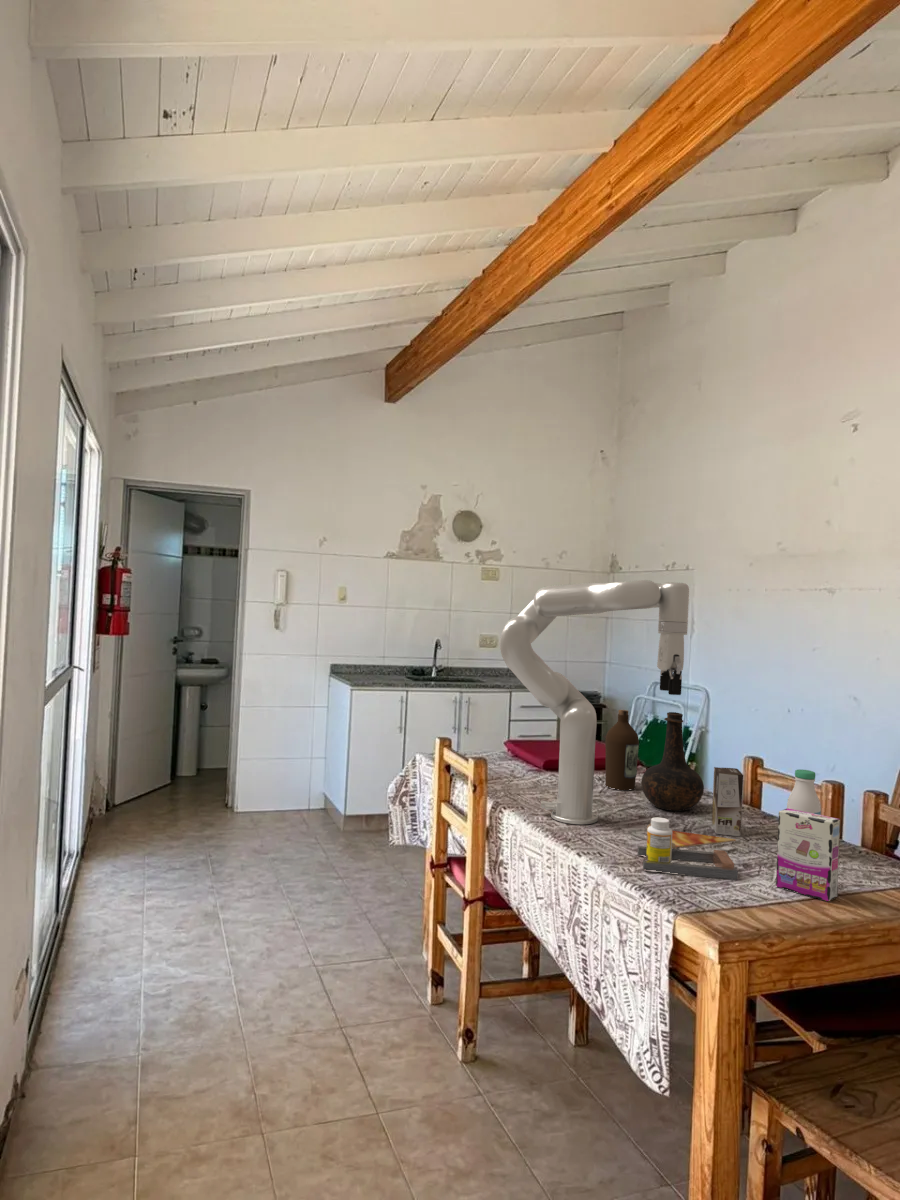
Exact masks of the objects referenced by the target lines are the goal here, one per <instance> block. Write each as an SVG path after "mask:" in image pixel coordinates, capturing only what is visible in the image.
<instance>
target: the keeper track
mask: <svg viewBox="0 0 900 1200" xmlns="http://www.w3.org/2000/svg"><path fill="white" fill-rule="evenodd" d="M646 853H647V846H643V845H638V846H637V856H638V855H645V856H646ZM675 859H680V860H679V861H686V860H687V862H688V861H689V862H699V863H701V862H702V863H709V864H710V863H713V866H712V865H699V864H690V863H677V862H671V863H668V862H656V861H646V859H645V860H642V870H643V869H646V870H656V871H662V872H670V873H678V874H685V875H684V876H688V875H694V876H693V877H700V876H703V878H712V879H713V878H714V879H724V880H734V879H736V880H738V877H739V876H738V875H739V874H738V873H739V870H738V869H737V868H736V867H735V863H734V861H733V860H732V858H731V857H730V856H729V854H728V853H727V851H726V850H720V849H718V850H717V849H714V850H713V851H705V850H704V851H703V850H690V849H680V848H673V849H672V856H671V860H675Z"/></svg>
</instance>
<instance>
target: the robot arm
mask: <svg viewBox="0 0 900 1200" xmlns="http://www.w3.org/2000/svg"><path fill="white" fill-rule="evenodd" d="M689 597H690V587H689V585H688V584H686V583H683V582H675V581H674V582H669V581H668V582H663V583H658V582H654V581H652V580H648V579H640V580H629V581H615V582H584V583H574V584H573V583H572V584H571V583H570V584H560V585H559V584H558V585H557V584H556V585H547V586H543V587H540V588H538V590H537V591H536V592H535V594H534V597H533V599H532V600H531V601H530V602H529V603H528V604H527V606H525V607H524V608H523V610H522V611H520V613H519V614H518V615H517V616H514V617H512V618H510V619H509V620H508V621H507V622H506V623H505V625H504V627H503V628H502V631H501V634H500V640H499V648H500V649H499V650H500V653H501V657H502V659H503V661H504V663H505V665H506V666H507V667H508V669H509V670H510V671H511V672H512V673H513V674H514V676H515V677H516V678H517V679H518V680H519V681H520V682H521V684H522V685H523V686H524V687H525V688H526V689H527V690H528V692H530V694H532V695H533V696H534V698H535V699H536V700H537V702H538V703H539V704H540V705H542V706H543V707H545V708H548V709H549V710H551V711H552V712H553V714H554V715H556V716H557V718H558V719H559V720H560V722H559V755H558V757H559V758H558V779H557V784H558V785H557V797H556V798H555V800H552V801H548V800H540V808H542V809H544V810H547V811H548V810H552V811H551V813H550V816H551V818H552V819H553V820H555V821H558V822H560V823H564V824H571V825H591V824H595V823H597V822H598V820H599V819H598V818H599V817H598V816H599V815H597V814H596V813H595V812H593V806H594V805H593V803H594V783H595V782H594V781H595V780H594V779H595V757H596V755H595V753H596V752H595V751H596V738H597V736H596V735H597V726H598V725H597V724H598V723H597V713H596V709H595V707H594V706H593V704H592V703H591V702H590V701H589V700H588V699H587V698H586V697H585V696H584V695H583V693H581V692H580V690H579V689H577V688H576V687H575V685H574V684H573V683H572V682H571V681H570V680H569V679H568V678H567V677H566V676H564V674H562V673H560V672H557V671H554V670H553V669H552V668H551V667H550V666H549V665H548V664H547V663H545V660H543V659H542V658H541V657H540V656H539V654H537V652H536V651H535V650H534V649H533V647H532V643H534V641H535V640H536V639H537V638H538V637H539V636H540V635H541V634H542V633H543V632H544V631H545V630H546V629H547V628H548V626H550V624H552V622H554V621H555V619H557V617H565V616H566V617H567V616H578V615H593V614H596V615H597V614H601V613H607V612H614V611H615V612H616V611H626V610H627V611H629V610H631V611H632V610H644V609H646V610H647V609H652V608H653V609H655V608H659V609H658V628H657V634H660V635H659V641H658V651H657V662H656V664H657V665H656V666H657V669H659V670H660V675H659V690H660V691H666V692H668V695H672V696H681V694H682V687H683V686H682V684H683V681H682V679H683V676H682V672H683V670H684V662H685V636H687V635H688V626H689V624H688V621H689V619H688V618H689V600H690V599H689Z"/></svg>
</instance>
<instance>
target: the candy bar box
mask: <svg viewBox="0 0 900 1200" xmlns="http://www.w3.org/2000/svg"><path fill="white" fill-rule="evenodd" d="M777 824H778V825H777V832H778V833H777V852H776V875H775V877H776V878H775V887H776V886H777V887H776V888H778V887H780V888H779V889H781V888H784V889H783V890H785V889H788V890H791V891H790V892H792V891H795V892H798V893H797V894H799V893H801V894H800V895H802V894H804V895H803V896H806V895H807V897H809V896H810V897H809V898H813V897H814V898H813V899H816V898H818V899H817V900H820V899H822V900H821V901H823V900H826V901H825V902H827V901H830V900H832V899H833V900H835V899H836V898H835V897H838V893H839V891H838V890H839V862H840V861H839V860H840V857H839V856H840V839H841V838H840V837H841V836H840V835H841V834H840V833H841V831H840V830H841V819H840V818H836V817H831V816H827V815H823V814H821V815H818V814H813V813H808V812H804V811H799V810H794V809H789V808H787V807H786V808H784V809H782V810H779V811H778V822H777ZM788 890H787V891H788ZM795 892H794V893H795ZM834 898H835V899H834ZM833 900H832V901H833ZM830 902H831V901H830Z"/></svg>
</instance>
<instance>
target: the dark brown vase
mask: <svg viewBox="0 0 900 1200" xmlns="http://www.w3.org/2000/svg"><path fill="white" fill-rule="evenodd" d="M683 715H684V714H682V713H680V712H674V711H669V712H667V713H666V716H667V717H665V718H664V719H663V720H664V721H666V729H665V730H666V733H665V743H664V747H663V749H664V750H663V753H662V754H663V755H662V759H661V761H660V763H658V764H655V765H652V766H650V767H648V768H647V769H646V770H645V771H644V772H643V775H642V777H641V780H640V784H641V789H642V792H643V794H644V796H645V798H646V799H647V800H648V802H650V803H651V805H653V806H654V807H655V808H658V809H660V810H661V809H662V810H664V809H665V810H664V811H671V810H672V811H673V812H684V811H687V810H689V809H692V808H694V807H696V805H697V804H698V803H699V802H700V801H701V799H702V797H703V795H704V790H705V788H704V785H705V784H704V782H703V778H702V777H701V776H700V774H699V773H698V772H697V771H696V770H694V769H693V768H691V767H690V766H689V765H688V763H687V760H686V757H685V751H684V750H685V749H684V740H683V737H684V736H683V735H684V734H683V723H684V720H683V717H684V716H683ZM672 811H671V812H672Z"/></svg>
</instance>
